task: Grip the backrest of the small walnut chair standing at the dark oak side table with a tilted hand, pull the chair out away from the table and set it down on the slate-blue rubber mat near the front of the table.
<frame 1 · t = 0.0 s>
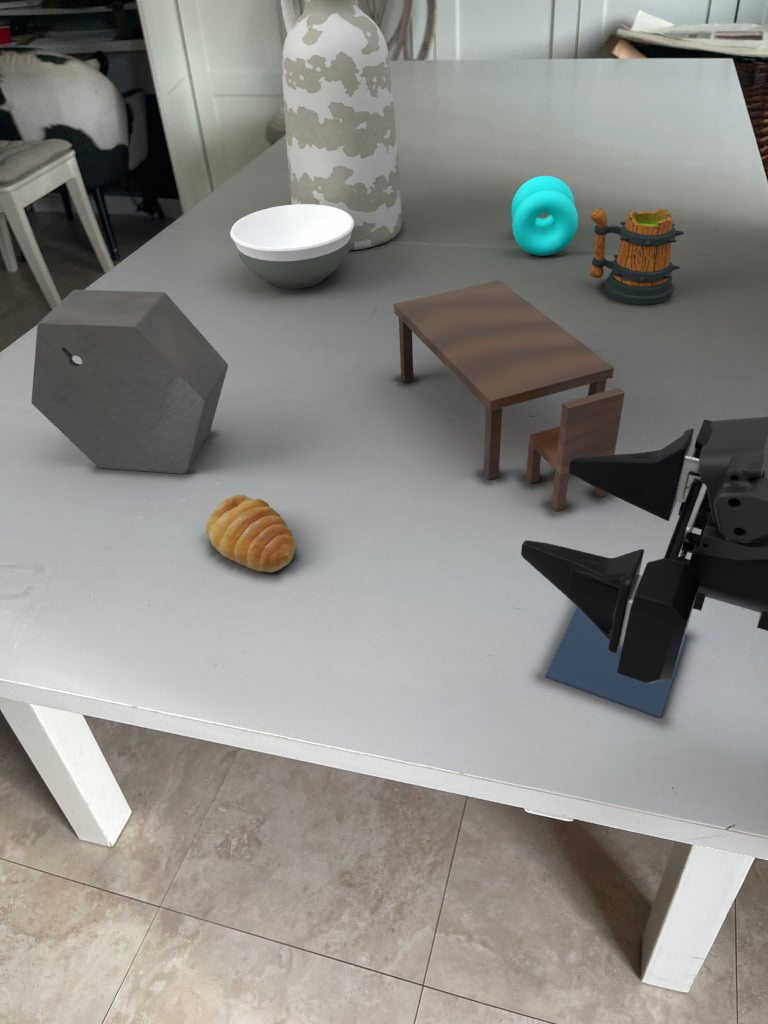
hand: (547, 503, 51), 19 cm above the table, tool horizontal, fingers open, 9 cm apart
mat: (617, 656, 65), on the table
donuts: (541, 247, 131), on the table
chair: (566, 486, 82), on the table
grey hexagonal prism: (150, 452, 91), on the table
bowl: (298, 278, 126), on the table
side table: (491, 411, 94), on the table
vase: (345, 231, 141), on the table
mug: (627, 291, 117), on the table
pastry: (255, 544, 78), on the table
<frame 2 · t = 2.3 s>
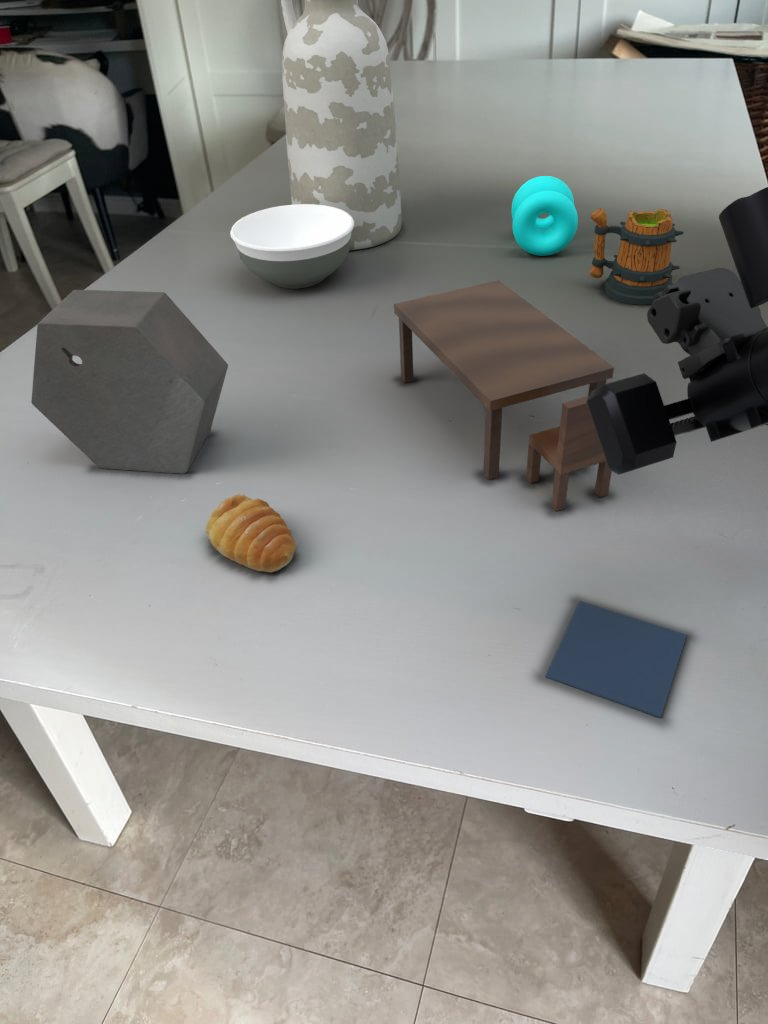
hand: (650, 426, 66), 14 cm above the table, tool tilted 45°, fingers open, 9 cm apart
nothing on the table moved.
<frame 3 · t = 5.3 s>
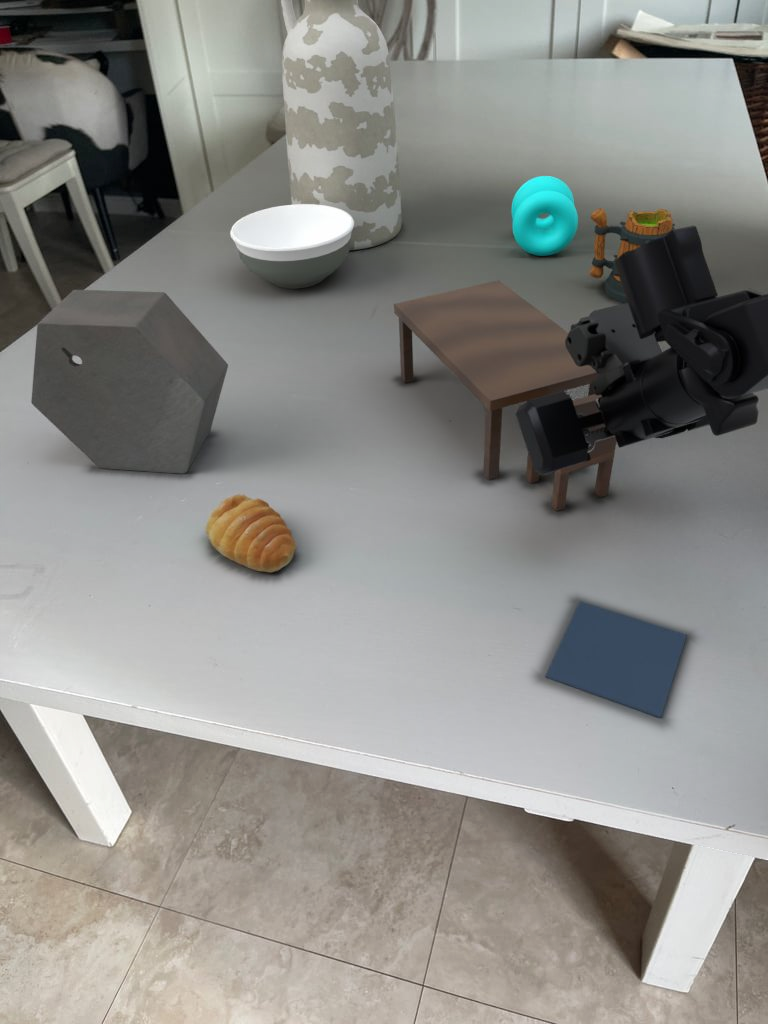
hand: (579, 434, 77), 7 cm above the table, tool tilted 45°, fingers closed on chair, 6 cm apart
chair: (566, 486, 82), on the table, touching gripper
everything else where it was.
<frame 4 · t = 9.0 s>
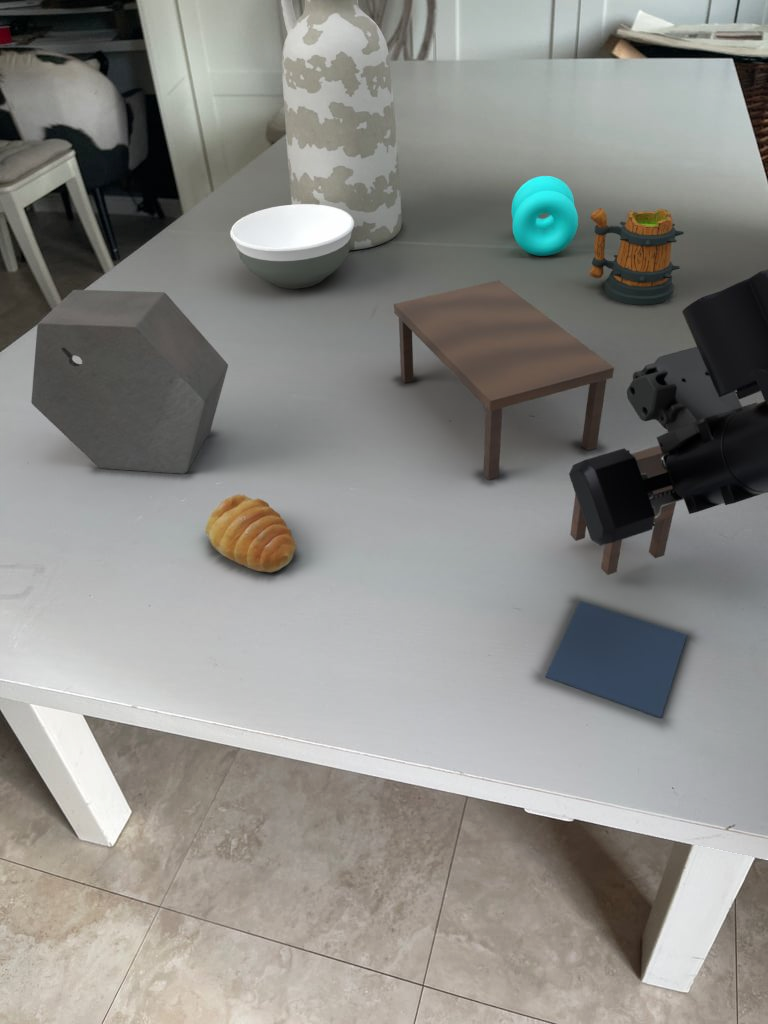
hand: (635, 490, 68), 8 cm above the table, tool tilted 45°, fingers closed on chair, 6 cm apart
chair: (616, 545, 73), point 1 cm above the table, touching gripper
everything else where it was.
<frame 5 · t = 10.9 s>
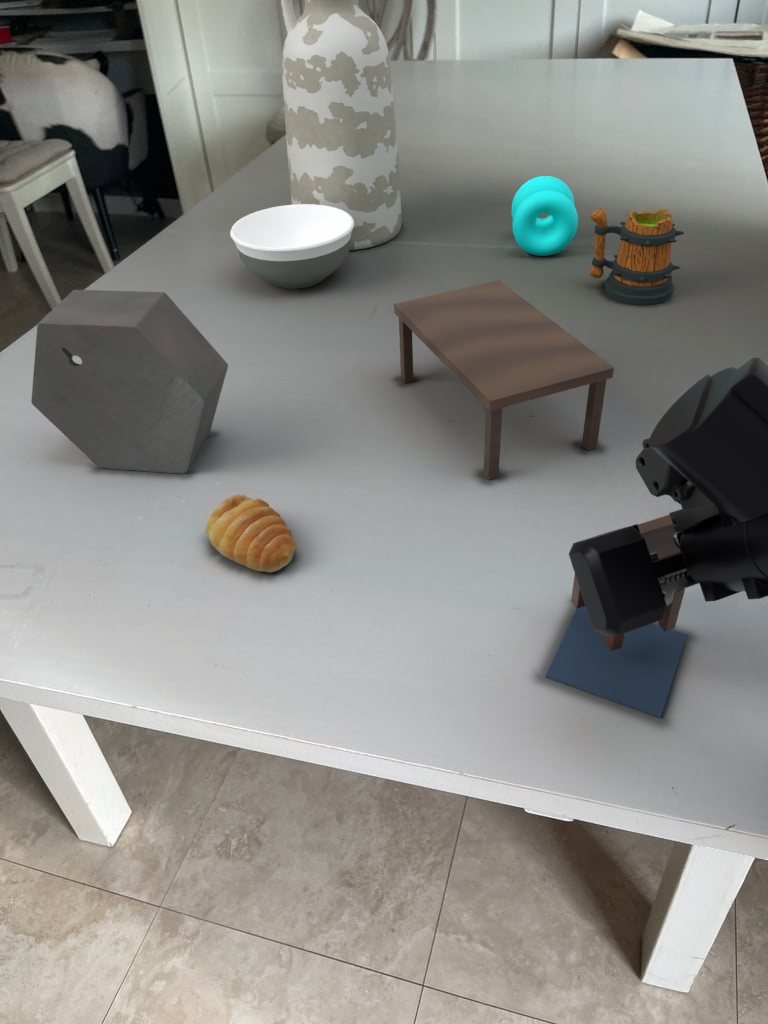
hand: (643, 559, 61), 9 cm above the table, tool tilted 45°, fingers closed on chair, 6 cm apart
chair: (621, 614, 66), point 2 cm above the table, touching gripper
everything else where it was.
when the fingers open (7 cm above the table, at t = 12.5 s): chair stays where it is, resting on mat.
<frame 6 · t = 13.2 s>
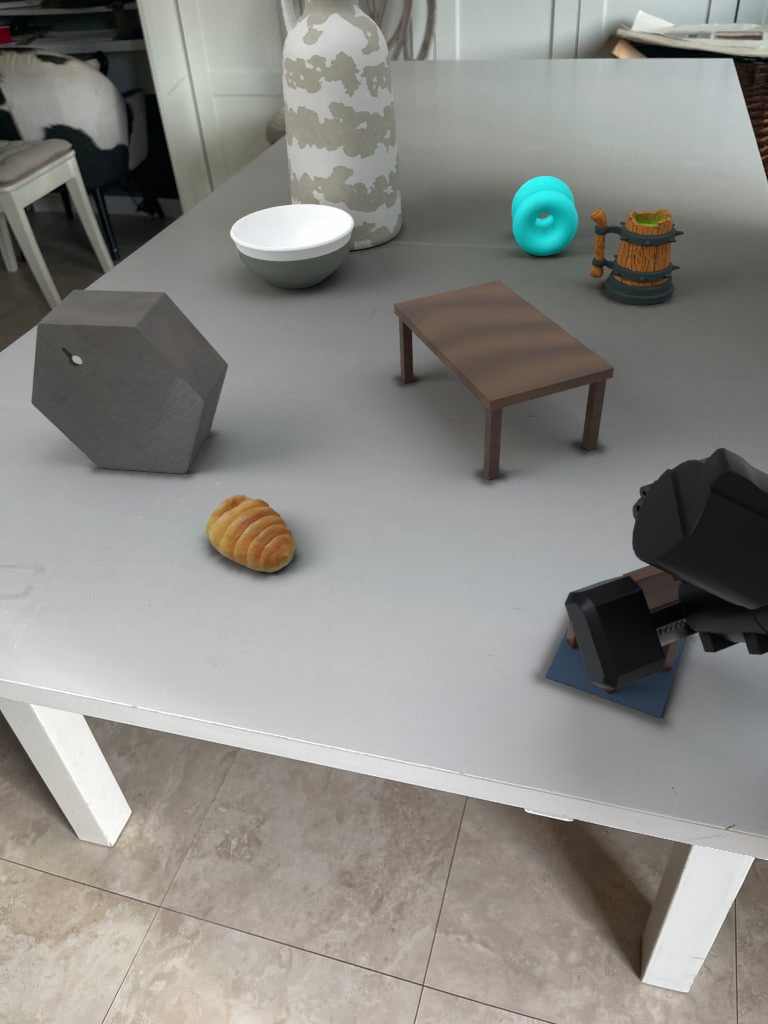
hand: (639, 600, 60), 7 cm above the table, tool tilted 45°, fingers open, 9 cm apart
chair: (618, 654, 65), resting on mat
everything else where it was.
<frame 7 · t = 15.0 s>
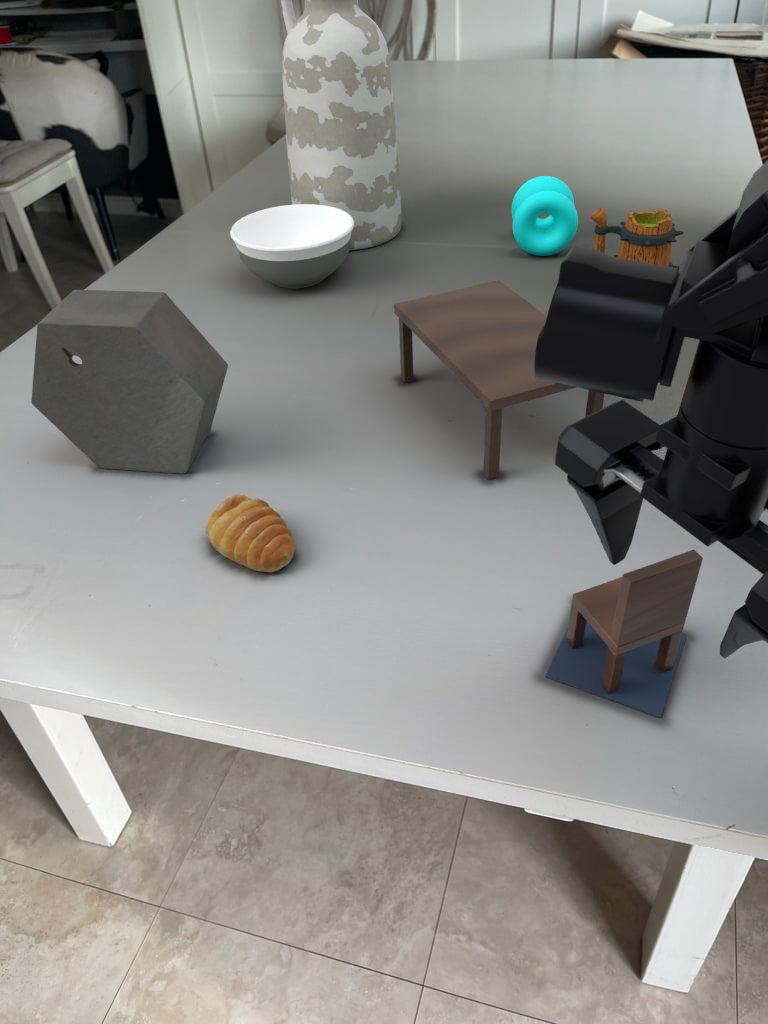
hand: (669, 604, 52), 13 cm above the table, tool pointing down, fingers open, 9 cm apart
nothing on the table moved.
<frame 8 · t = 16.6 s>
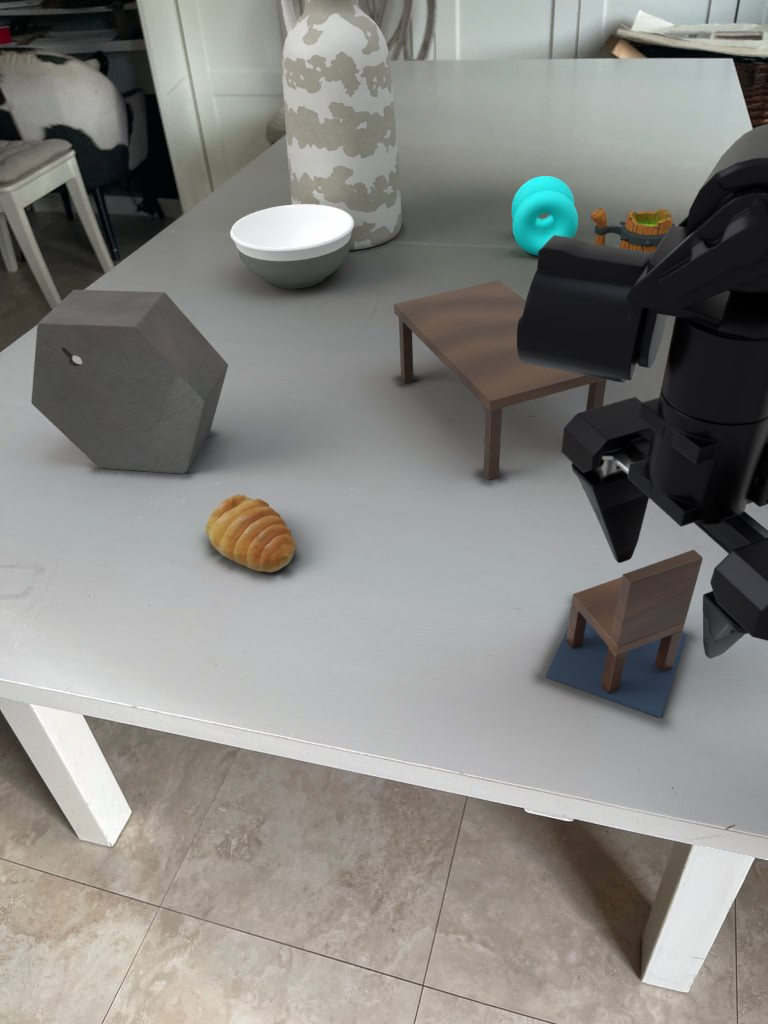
hand: (665, 604, 52), 13 cm above the table, tool pointing down, fingers open, 9 cm apart
nothing on the table moved.
at the end: chair inside the target area on the mat (0.0 cm from its centre), point 0.2 cm above the mat's base; chair tilted 0°; chair touching mat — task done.
